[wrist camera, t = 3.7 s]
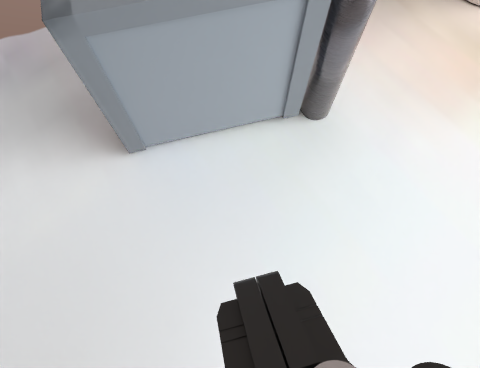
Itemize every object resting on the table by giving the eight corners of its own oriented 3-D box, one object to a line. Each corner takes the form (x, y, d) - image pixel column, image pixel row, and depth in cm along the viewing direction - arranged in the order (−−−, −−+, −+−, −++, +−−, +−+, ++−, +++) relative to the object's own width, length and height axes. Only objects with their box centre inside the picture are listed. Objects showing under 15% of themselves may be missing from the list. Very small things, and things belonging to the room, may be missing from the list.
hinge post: (323, 92, 37) (392, -95, 20) (333, 116, 36) (414, -61, 19) (296, 98, 37) (344, -86, 20) (305, 122, 36) (363, -51, 19)
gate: (293, 100, 36) (331, -56, 21) (298, 115, 35) (341, -36, 20) (126, 137, 34) (40, -4, 20) (129, 153, 34) (42, 20, 19)
